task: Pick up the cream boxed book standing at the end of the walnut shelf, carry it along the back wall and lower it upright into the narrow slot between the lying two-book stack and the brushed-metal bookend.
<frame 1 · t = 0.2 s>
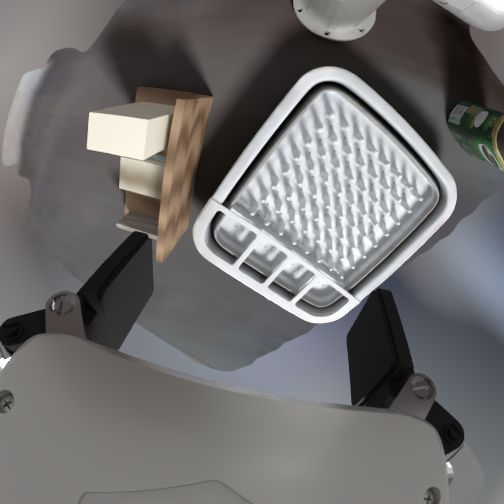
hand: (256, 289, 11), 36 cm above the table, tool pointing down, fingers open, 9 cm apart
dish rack: (325, 198, 47), on the table
coffee jar: (466, 126, 34), on the table
boxed book: (163, 119, 41), point 2 cm above the table, touching shelf
shelf: (164, 158, 46), on the table
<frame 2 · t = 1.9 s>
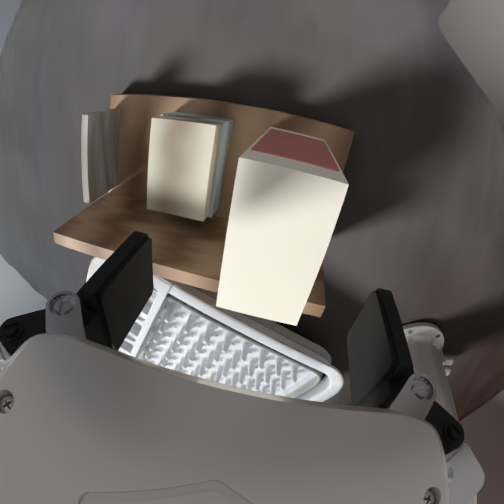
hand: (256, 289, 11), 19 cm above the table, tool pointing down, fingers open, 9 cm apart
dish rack: (203, 339, 44), on the table
boxed book: (287, 177, 26), point 2 cm above the table, touching shelf
shelf: (216, 161, 28), on the table
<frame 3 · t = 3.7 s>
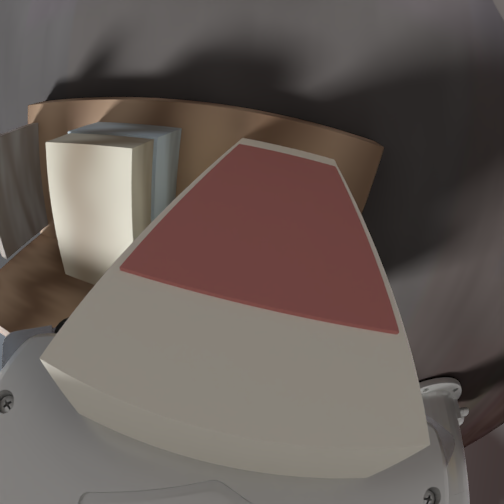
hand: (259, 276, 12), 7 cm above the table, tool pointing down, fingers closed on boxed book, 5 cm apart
boxed book: (271, 221, 17), point 2 cm above the table, touching gripper, shelf
shelf: (166, 191, 19), on the table
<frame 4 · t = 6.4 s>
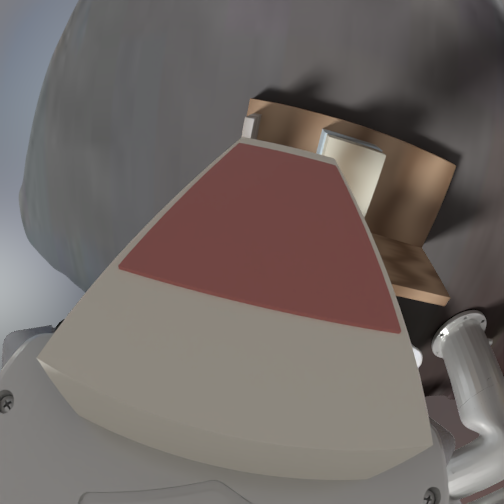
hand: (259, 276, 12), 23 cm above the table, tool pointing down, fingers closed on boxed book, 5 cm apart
boxed book: (271, 220, 17), point 17 cm above the table, touching gripper
shelf: (346, 177, 31), on the table
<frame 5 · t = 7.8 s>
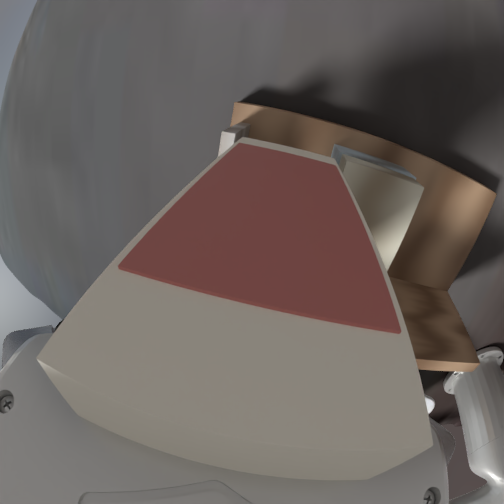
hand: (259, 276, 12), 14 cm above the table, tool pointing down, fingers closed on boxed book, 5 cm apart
boxed book: (271, 220, 17), point 9 cm above the table, touching gripper
shelf: (363, 206, 24), on the table
when the fingers open (9 cm above the table, at t = 9.2 s): boxed book drops 1 cm, resting on shelf.
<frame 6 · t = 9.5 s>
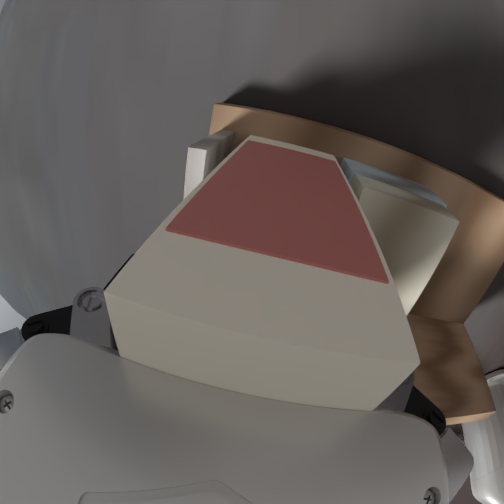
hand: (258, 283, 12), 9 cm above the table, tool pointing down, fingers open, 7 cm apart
boxed book: (276, 212, 18), point 2 cm above the table, touching shelf
shelf: (375, 232, 20), on the table
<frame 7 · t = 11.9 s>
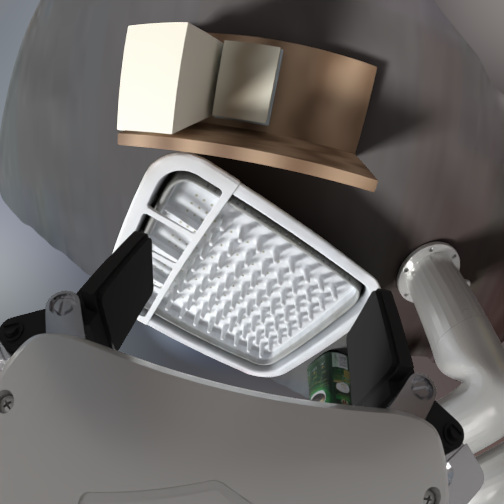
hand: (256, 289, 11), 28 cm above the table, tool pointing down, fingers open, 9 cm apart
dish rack: (238, 268, 46), on the table
coffee jar: (329, 361, 58), on the table
boxed book: (200, 77, 28), point 2 cm above the table, touching shelf
shelf: (264, 89, 30), on the table
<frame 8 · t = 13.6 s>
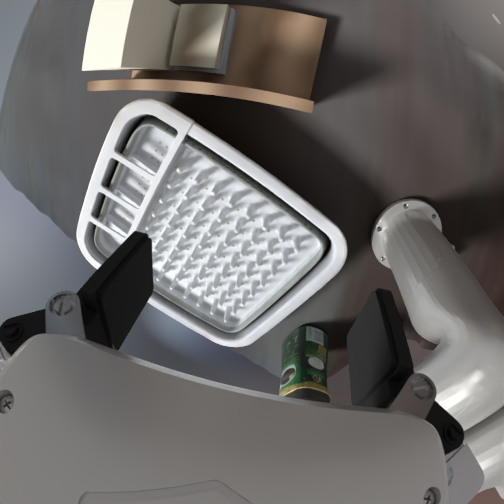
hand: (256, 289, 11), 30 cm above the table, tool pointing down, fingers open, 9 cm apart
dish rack: (204, 225, 46), on the table
coffee jar: (305, 338, 56), on the table
boxed book: (167, 41, 28), point 2 cm above the table, touching shelf
shelf: (223, 48, 30), on the table
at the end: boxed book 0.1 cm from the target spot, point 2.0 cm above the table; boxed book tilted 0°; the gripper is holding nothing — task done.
